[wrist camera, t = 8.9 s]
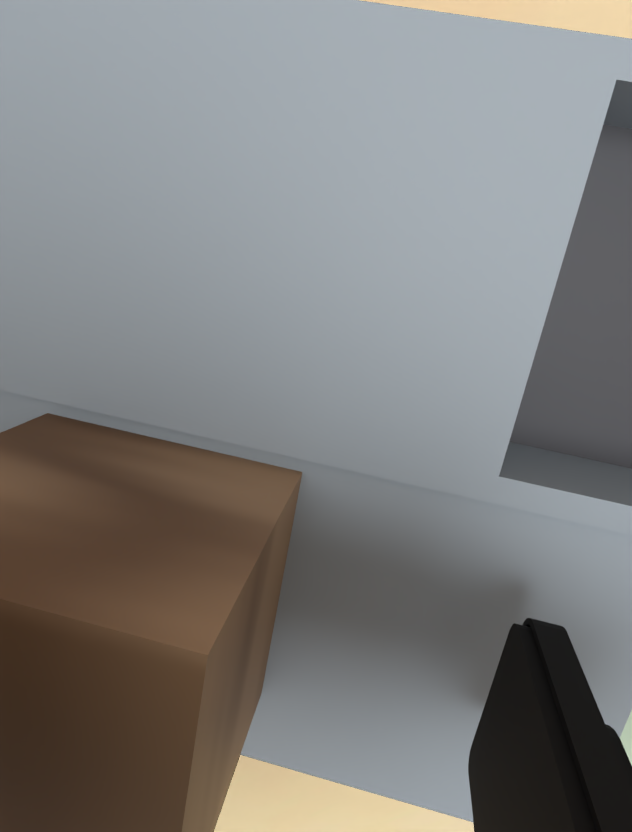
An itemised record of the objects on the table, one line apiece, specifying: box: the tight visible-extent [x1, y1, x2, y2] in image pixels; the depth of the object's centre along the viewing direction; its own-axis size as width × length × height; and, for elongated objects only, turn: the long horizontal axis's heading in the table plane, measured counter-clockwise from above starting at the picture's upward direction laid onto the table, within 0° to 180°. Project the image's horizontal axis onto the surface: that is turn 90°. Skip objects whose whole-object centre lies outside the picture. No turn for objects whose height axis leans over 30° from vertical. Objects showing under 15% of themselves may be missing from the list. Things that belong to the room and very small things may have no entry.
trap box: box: [0, 0, 632, 822], centre depth 11 cm, size 27×14×2 cm, turn 79°
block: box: [0, 413, 302, 832], centre depth 9 cm, size 5×5×5 cm
